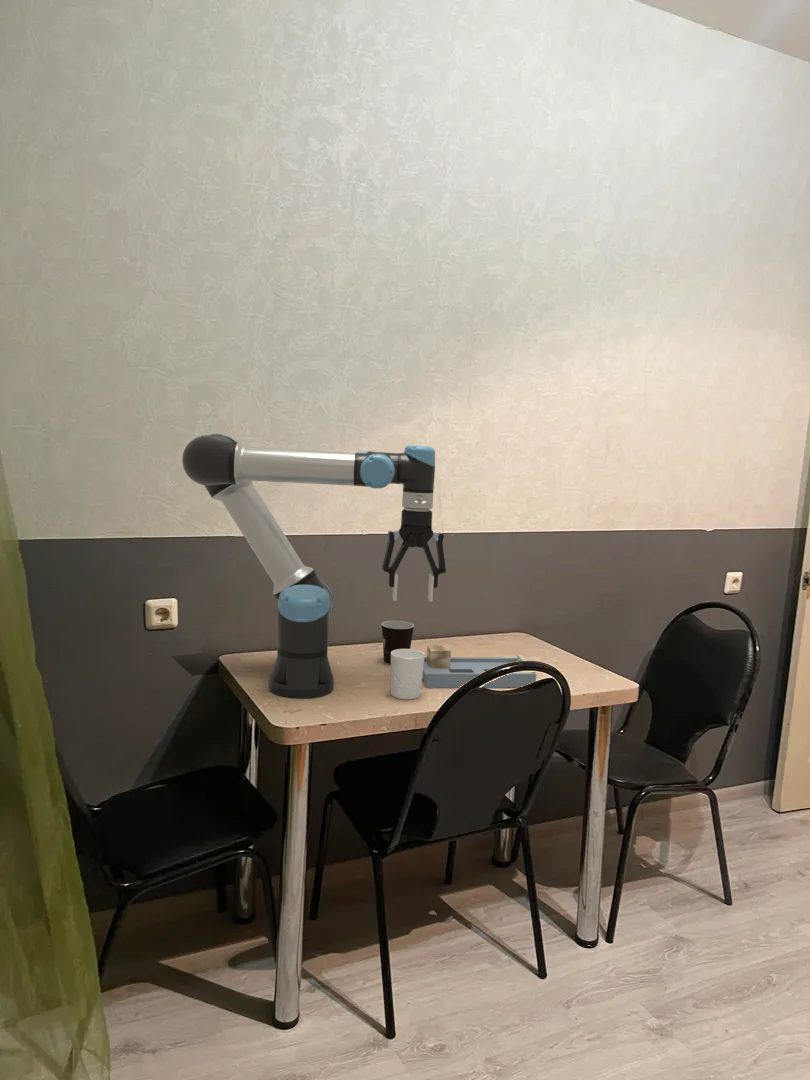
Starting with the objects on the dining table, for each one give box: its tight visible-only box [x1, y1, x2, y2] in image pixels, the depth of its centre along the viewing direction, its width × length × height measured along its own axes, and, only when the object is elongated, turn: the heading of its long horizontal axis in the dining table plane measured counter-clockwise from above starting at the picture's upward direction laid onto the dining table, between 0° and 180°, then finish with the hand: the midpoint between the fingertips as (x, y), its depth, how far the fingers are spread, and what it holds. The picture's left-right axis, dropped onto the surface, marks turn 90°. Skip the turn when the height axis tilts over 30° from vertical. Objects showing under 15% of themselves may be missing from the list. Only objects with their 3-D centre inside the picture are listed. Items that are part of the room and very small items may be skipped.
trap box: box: [422, 654, 537, 689], centre depth 203 cm, size 27×14×4 cm, turn 99°
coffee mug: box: [381, 620, 415, 665], centre depth 215 cm, size 12×9×10 cm
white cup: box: [390, 648, 426, 700], centre depth 188 cm, size 8×8×10 cm
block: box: [426, 644, 452, 669], centre depth 204 cm, size 5×5×4 cm
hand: (412, 600), depth 201 cm, fingers open, 8 cm apart
